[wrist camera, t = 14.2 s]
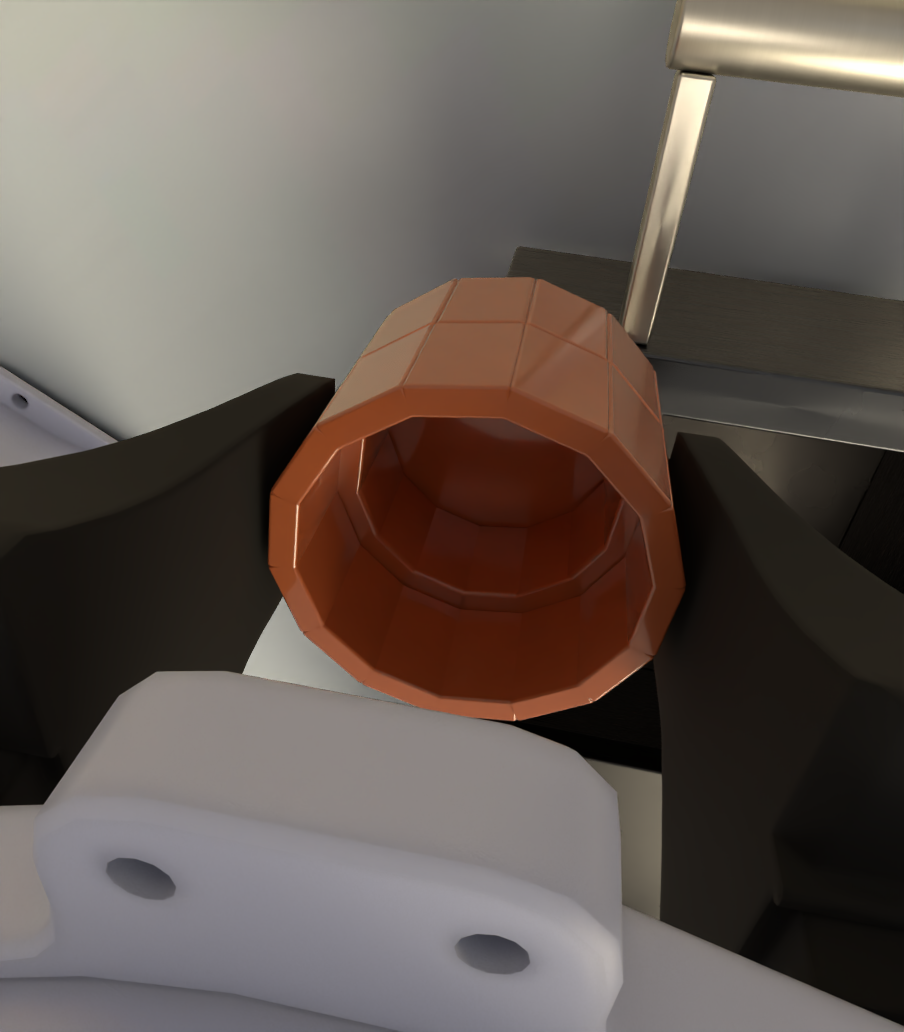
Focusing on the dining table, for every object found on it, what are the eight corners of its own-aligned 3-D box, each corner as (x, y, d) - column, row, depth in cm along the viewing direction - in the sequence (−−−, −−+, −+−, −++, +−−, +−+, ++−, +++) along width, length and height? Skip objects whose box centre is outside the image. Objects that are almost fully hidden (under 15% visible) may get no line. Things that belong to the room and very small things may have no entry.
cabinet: (457, 546, 26) (410, 724, 19) (845, 615, 25) (926, 825, 18) (426, 802, 34) (385, 984, 28) (716, 861, 33) (743, 1064, 27)
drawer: (555, -33, 16) (533, -43, 11) (1141, 33, 15) (1392, 53, 10) (463, 629, 26) (431, 769, 22) (801, 692, 26) (845, 851, 21)
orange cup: (304, 437, 14) (201, 589, 11) (473, 190, 11) (410, 283, 8) (528, 587, 15) (503, 771, 12) (732, 396, 12) (784, 563, 9)
